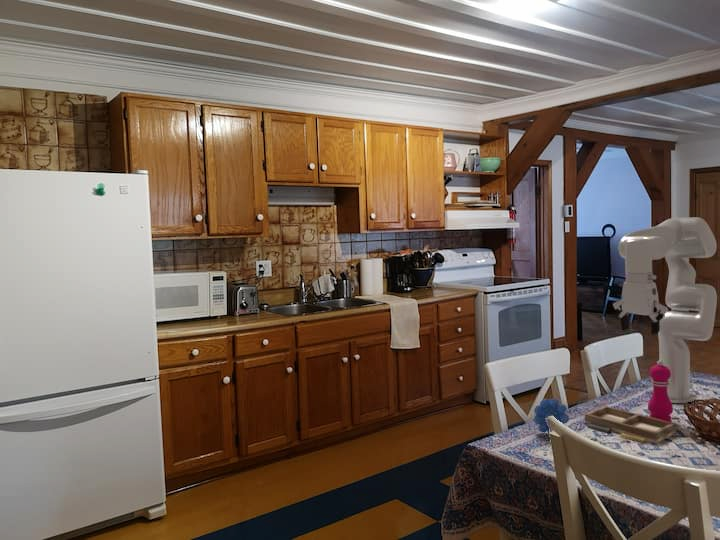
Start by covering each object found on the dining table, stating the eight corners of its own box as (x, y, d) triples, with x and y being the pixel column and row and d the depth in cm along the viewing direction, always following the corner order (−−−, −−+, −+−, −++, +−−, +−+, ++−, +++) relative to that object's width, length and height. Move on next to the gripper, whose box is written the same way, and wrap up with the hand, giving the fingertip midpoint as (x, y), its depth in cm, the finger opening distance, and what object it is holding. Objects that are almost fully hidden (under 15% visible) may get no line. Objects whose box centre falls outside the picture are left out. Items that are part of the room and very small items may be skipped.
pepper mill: (672, 426, 178) (672, 364, 176) (646, 423, 182) (646, 362, 180) (673, 419, 184) (673, 358, 182) (648, 416, 188) (648, 357, 186)
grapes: (575, 435, 174) (575, 397, 173) (565, 442, 170) (564, 403, 169) (541, 427, 183) (540, 390, 182) (530, 433, 178) (529, 395, 177)
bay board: (605, 414, 191) (605, 405, 191) (676, 433, 173) (676, 423, 172) (580, 425, 183) (580, 416, 183) (651, 445, 164) (651, 435, 164)
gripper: (673, 278, 172) (673, 333, 174) (619, 275, 187) (620, 326, 188) (660, 281, 168) (660, 337, 170) (606, 278, 183) (607, 330, 184)
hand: (639, 331), depth 179 cm, fingers open, 9 cm apart
